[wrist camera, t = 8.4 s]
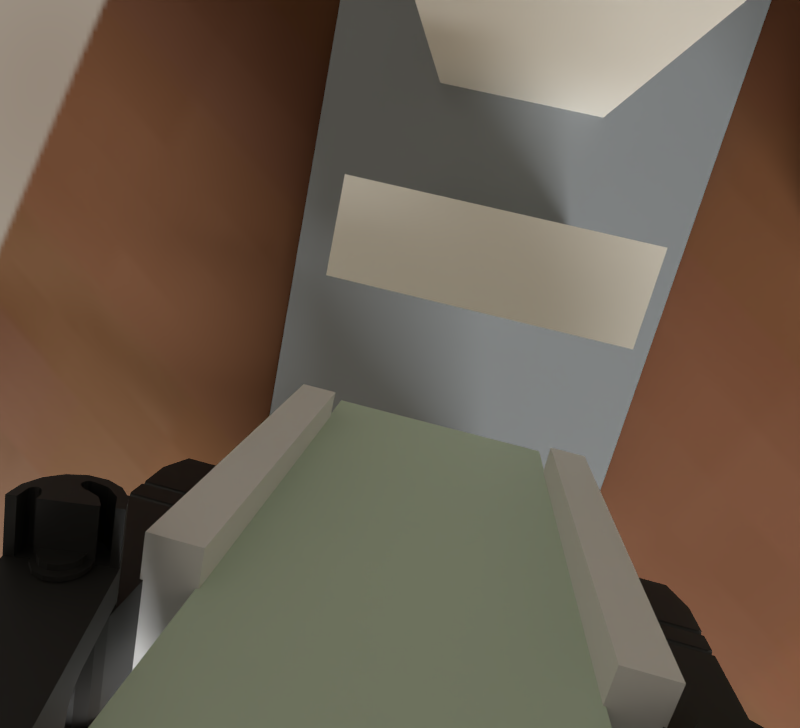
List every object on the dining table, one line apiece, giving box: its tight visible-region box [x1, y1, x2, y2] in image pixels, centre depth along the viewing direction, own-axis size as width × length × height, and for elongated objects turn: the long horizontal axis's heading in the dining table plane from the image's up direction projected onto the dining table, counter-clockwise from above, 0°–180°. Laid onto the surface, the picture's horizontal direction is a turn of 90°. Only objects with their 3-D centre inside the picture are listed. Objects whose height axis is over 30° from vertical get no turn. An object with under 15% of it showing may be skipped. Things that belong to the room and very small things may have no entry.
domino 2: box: [326, 174, 667, 349], centre depth 14 cm, size 2×5×10 cm, turn 77°
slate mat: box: [270, 0, 771, 490], centre depth 20 cm, size 28×12×1 cm, turn 167°
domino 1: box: [415, 0, 746, 117], centre depth 13 cm, size 2×5×10 cm, turn 78°
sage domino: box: [88, 400, 612, 728], centre depth 10 cm, size 2×5×10 cm, turn 77°
